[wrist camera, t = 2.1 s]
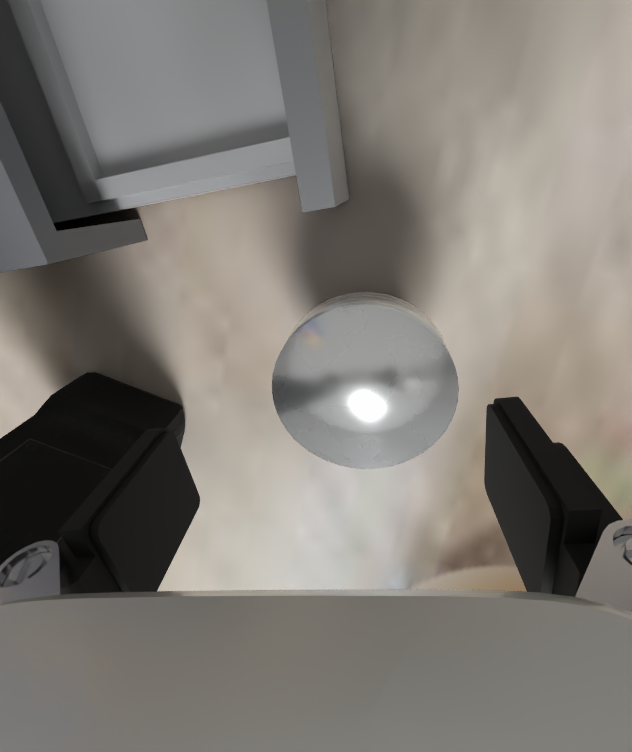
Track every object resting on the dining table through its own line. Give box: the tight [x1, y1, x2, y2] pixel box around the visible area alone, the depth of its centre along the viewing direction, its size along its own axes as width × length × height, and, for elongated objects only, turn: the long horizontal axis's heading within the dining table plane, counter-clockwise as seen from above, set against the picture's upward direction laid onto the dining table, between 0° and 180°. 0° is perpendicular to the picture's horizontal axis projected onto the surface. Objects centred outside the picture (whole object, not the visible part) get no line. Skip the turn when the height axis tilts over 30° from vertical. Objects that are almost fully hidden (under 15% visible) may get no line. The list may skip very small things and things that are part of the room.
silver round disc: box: [272, 292, 459, 469], centre depth 15 cm, size 7×7×2 cm
